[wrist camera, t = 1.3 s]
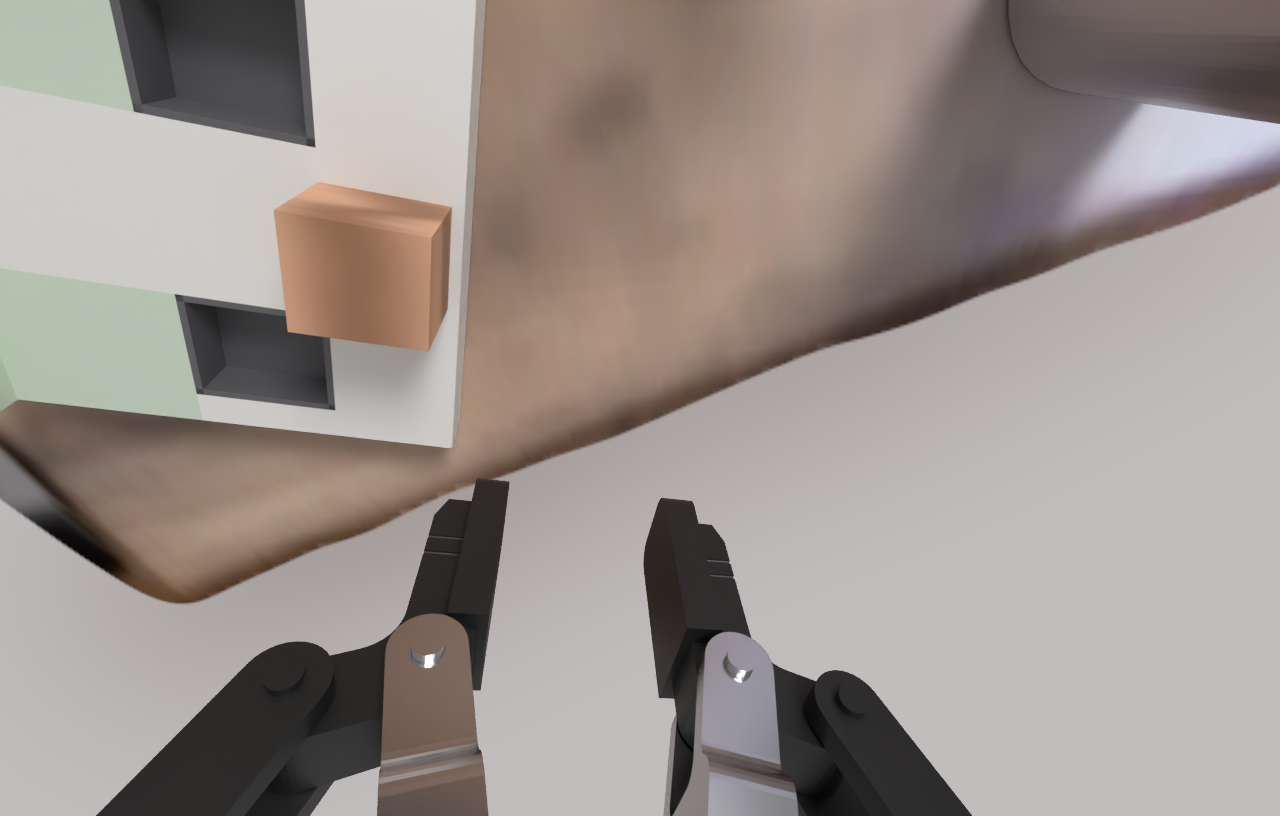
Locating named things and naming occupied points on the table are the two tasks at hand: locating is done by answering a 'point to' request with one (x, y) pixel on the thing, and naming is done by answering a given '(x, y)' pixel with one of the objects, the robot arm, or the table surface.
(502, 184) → the table surface
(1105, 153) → the table surface
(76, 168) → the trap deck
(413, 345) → the block
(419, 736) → the robot arm
